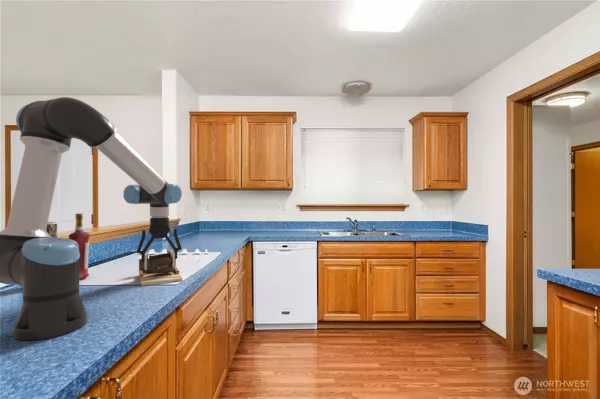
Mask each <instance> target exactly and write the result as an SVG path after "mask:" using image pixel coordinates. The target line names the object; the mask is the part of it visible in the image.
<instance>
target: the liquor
mask: <svg viewBox="0 0 600 399" xmlns="http://www.w3.org/2000/svg"><path fill="white" fill-rule="evenodd" d="M74 215H75V227H74V228H75V229H74V232H72V233H70V234H69V235H68V239H71V240H74V241H76V242H77V243H78V246H79V253H80V257H79V281H82V279H83V280H86V279H87V278H88V277H89V276H90V274H89V255H90V254H89V252H90V236H91V235H90V233H88V232H87V231H84V224H83V219H84V213H75V214H74ZM85 278H86V279H85Z"/></svg>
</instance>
